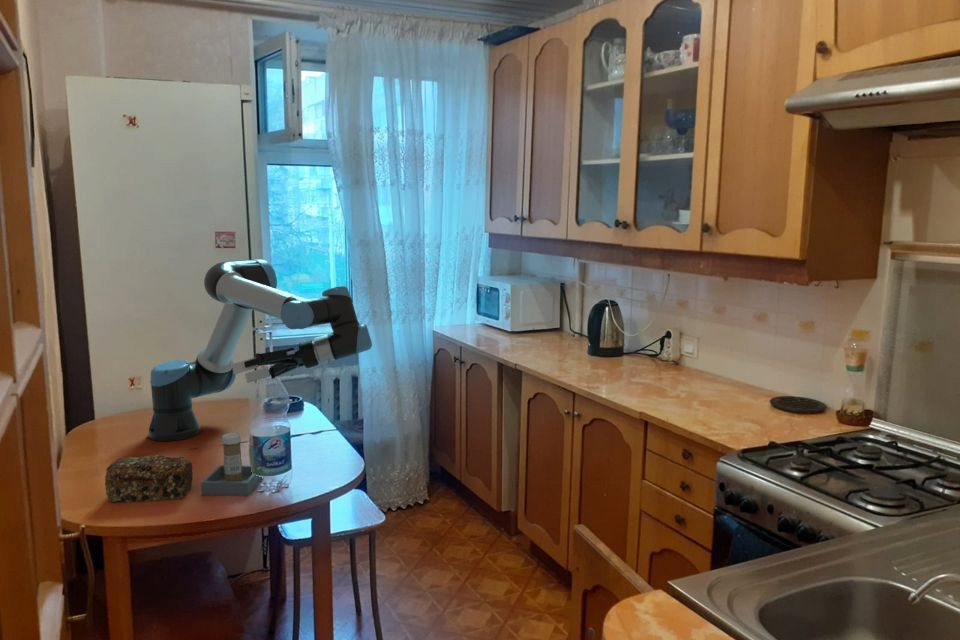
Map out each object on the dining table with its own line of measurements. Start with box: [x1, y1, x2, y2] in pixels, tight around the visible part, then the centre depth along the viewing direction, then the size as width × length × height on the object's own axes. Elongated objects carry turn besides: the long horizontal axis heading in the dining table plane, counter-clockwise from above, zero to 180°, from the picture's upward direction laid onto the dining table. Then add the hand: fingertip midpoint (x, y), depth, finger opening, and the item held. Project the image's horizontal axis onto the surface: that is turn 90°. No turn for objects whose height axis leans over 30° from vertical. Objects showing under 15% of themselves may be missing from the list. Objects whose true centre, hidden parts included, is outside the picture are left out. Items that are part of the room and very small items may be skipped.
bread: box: [104, 454, 194, 504], centre depth 180 cm, size 19×11×10 cm, turn 97°
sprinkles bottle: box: [221, 432, 243, 482], centre depth 184 cm, size 5×5×14 cm
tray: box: [200, 464, 263, 497], centre depth 185 cm, size 12×12×4 cm
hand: (239, 374), depth 192 cm, fingers open, 13 cm apart
